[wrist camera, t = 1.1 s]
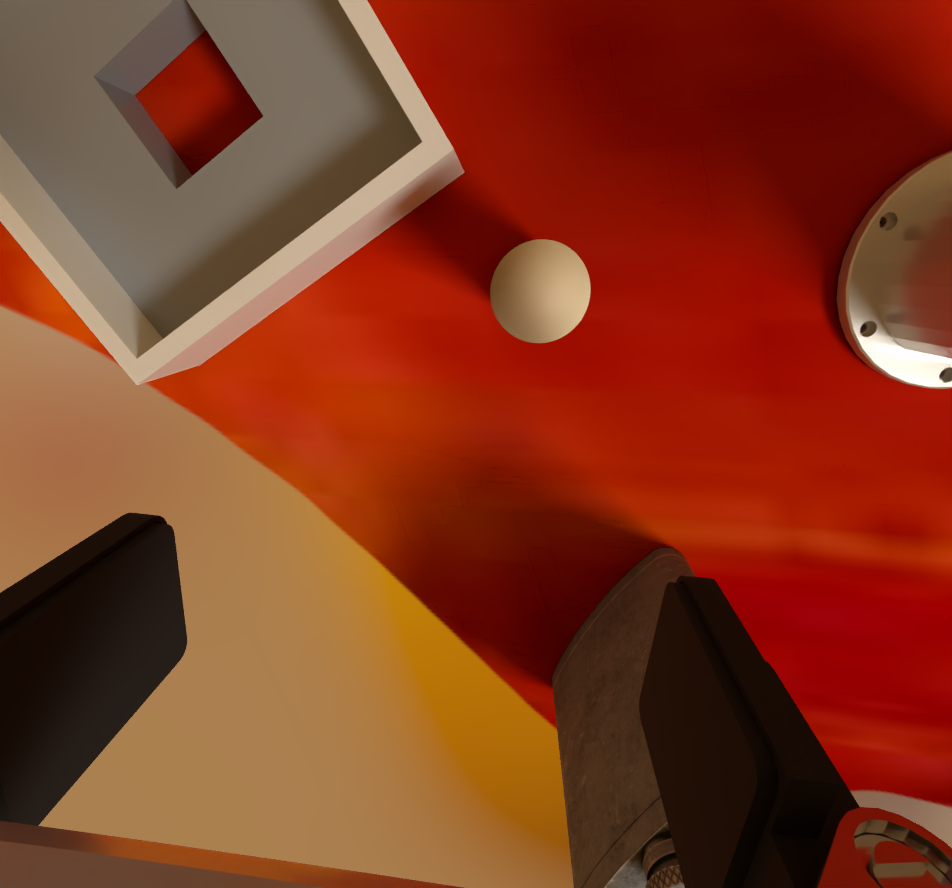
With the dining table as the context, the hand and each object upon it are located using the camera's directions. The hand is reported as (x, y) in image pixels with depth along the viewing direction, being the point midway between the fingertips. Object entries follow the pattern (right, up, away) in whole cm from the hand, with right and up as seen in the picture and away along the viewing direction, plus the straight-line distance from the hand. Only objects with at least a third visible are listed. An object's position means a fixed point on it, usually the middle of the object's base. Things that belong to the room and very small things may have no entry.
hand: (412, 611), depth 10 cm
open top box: (-13, +21, +19) cm, 31 cm away
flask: (+11, -10, +28) cm, 31 cm away
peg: (+4, +12, +21) cm, 24 cm away
